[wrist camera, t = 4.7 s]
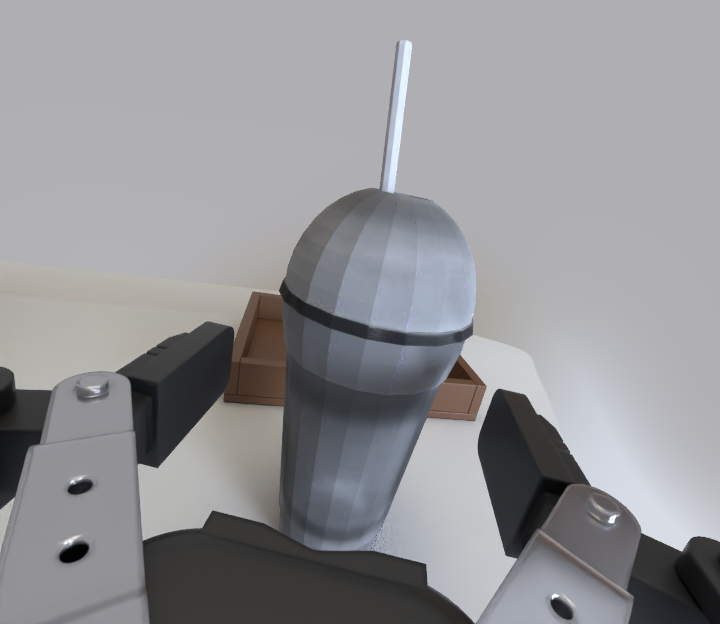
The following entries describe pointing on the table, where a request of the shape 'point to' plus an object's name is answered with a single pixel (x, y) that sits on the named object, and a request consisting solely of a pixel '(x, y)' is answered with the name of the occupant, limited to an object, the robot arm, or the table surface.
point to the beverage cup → (366, 347)
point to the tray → (268, 366)
